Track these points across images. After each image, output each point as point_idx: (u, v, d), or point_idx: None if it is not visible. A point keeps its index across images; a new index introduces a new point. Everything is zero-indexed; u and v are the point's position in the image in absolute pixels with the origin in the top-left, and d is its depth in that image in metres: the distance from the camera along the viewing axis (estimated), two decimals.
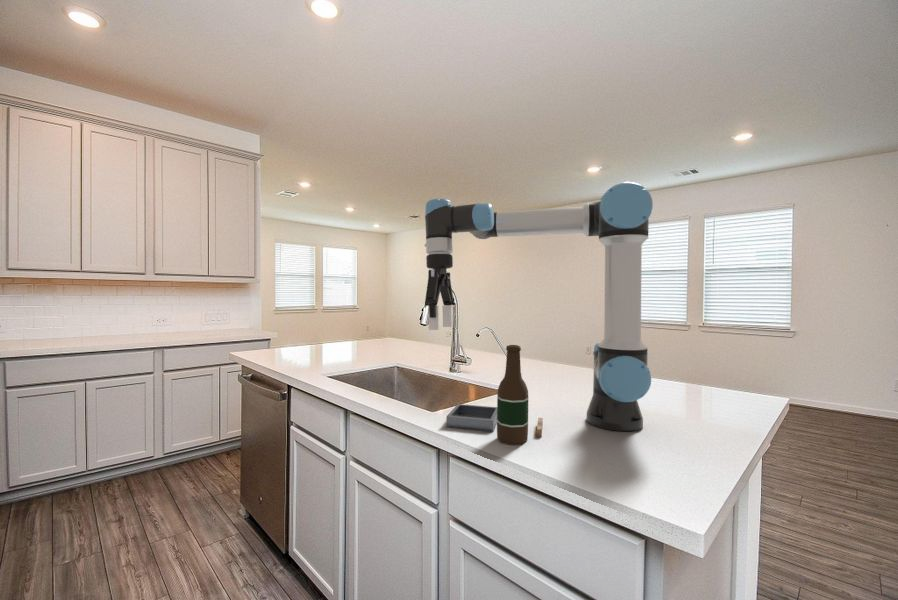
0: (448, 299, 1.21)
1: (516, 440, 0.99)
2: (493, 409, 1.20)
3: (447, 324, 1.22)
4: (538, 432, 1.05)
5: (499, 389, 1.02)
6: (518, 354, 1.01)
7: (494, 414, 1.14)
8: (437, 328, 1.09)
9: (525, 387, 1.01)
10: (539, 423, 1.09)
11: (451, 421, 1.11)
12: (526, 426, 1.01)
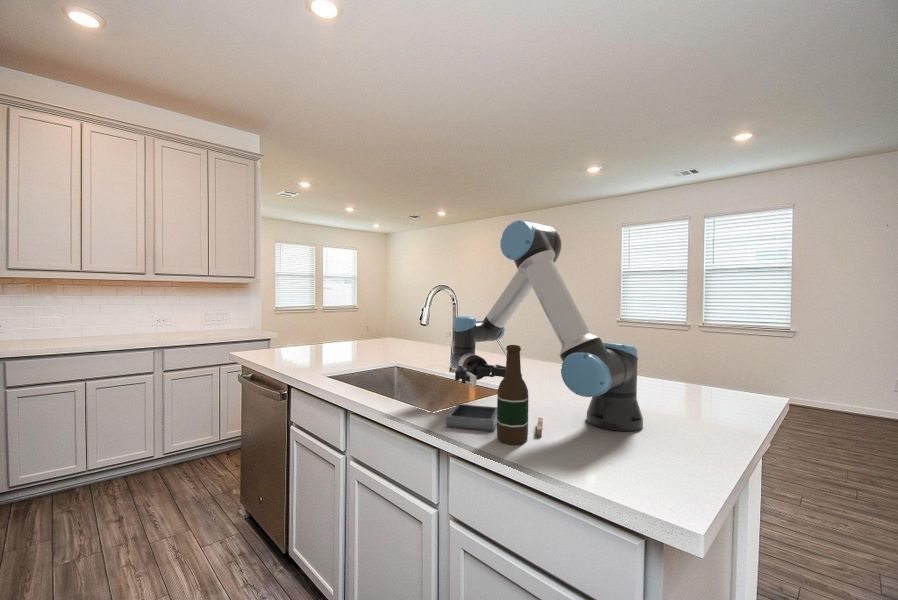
0: None
1: (516, 440, 0.99)
2: (493, 409, 1.20)
3: None
4: (538, 432, 1.05)
5: (499, 389, 1.02)
6: (519, 354, 1.01)
7: (494, 414, 1.14)
8: (473, 377, 1.10)
9: (525, 387, 1.01)
10: (539, 423, 1.09)
11: (451, 421, 1.11)
12: (526, 426, 1.01)
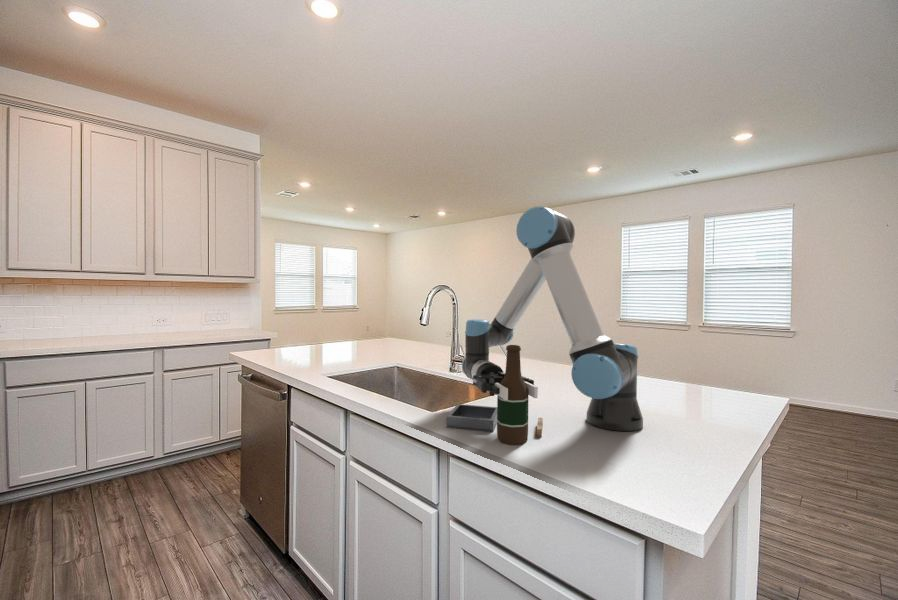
0: None
1: (516, 440, 0.99)
2: (493, 409, 1.20)
3: (533, 391, 0.99)
4: (538, 432, 1.05)
5: None
6: (518, 354, 1.01)
7: (494, 414, 1.14)
8: (504, 389, 0.97)
9: (525, 387, 1.01)
10: (539, 423, 1.09)
11: (451, 421, 1.11)
12: (526, 426, 1.01)
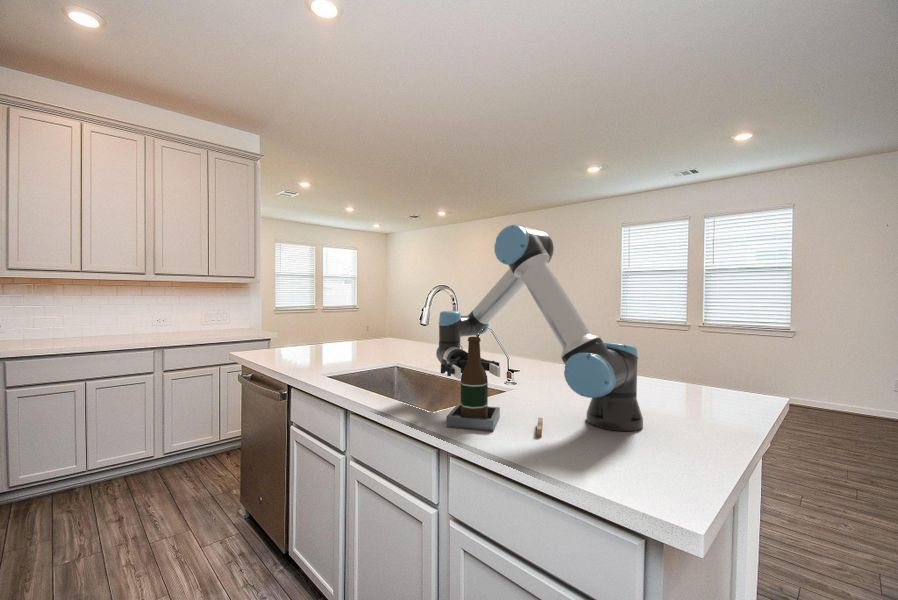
0: (486, 364, 1.21)
1: None
2: (493, 409, 1.20)
3: (496, 371, 1.14)
4: (538, 432, 1.05)
5: (462, 375, 1.16)
6: (478, 345, 1.15)
7: (494, 414, 1.14)
8: (457, 369, 1.11)
9: (484, 373, 1.15)
10: (539, 423, 1.09)
11: (451, 421, 1.11)
12: (485, 407, 1.14)
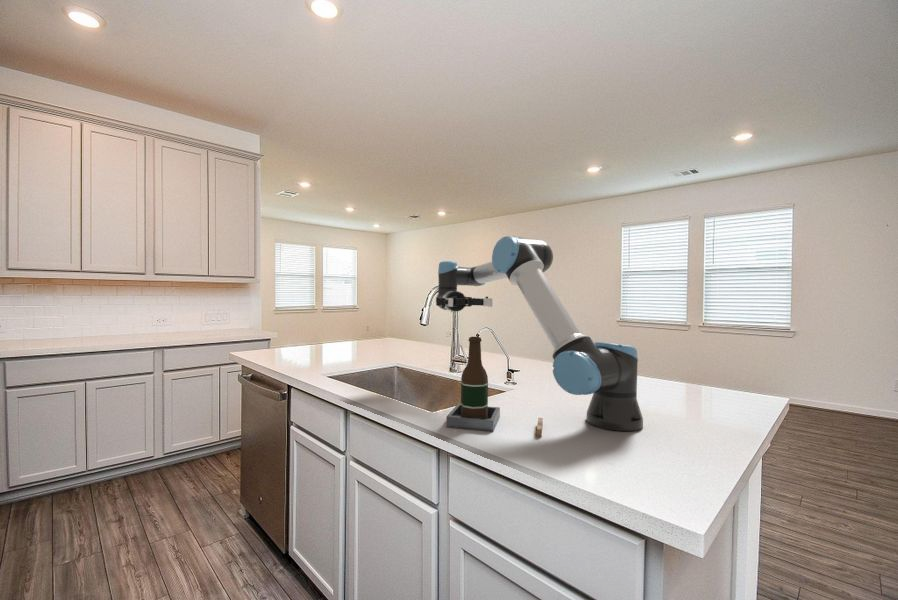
0: (480, 300, 1.42)
1: None
2: (493, 409, 1.20)
3: (489, 302, 1.35)
4: (538, 432, 1.05)
5: (462, 375, 1.16)
6: (479, 345, 1.15)
7: (494, 414, 1.14)
8: (450, 299, 1.31)
9: (485, 373, 1.15)
10: (539, 423, 1.09)
11: (451, 421, 1.11)
12: (486, 408, 1.15)
